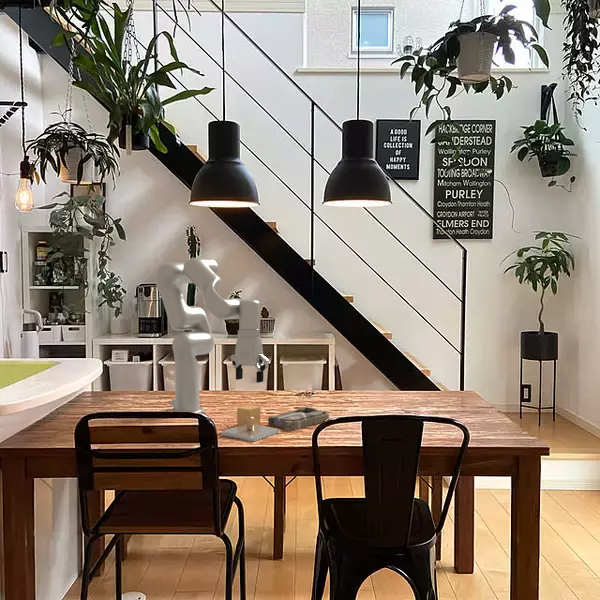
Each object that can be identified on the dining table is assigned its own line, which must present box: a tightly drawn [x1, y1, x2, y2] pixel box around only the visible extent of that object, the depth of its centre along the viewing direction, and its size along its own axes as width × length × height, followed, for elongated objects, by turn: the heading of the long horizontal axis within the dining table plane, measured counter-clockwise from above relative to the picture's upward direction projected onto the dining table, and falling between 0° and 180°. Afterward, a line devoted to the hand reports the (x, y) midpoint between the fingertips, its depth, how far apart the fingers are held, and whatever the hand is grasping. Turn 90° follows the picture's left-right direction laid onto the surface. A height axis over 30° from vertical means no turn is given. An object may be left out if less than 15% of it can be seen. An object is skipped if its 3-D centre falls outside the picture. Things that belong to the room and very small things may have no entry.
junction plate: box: [221, 416, 280, 442], centre depth 229 cm, size 14×14×6 cm
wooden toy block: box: [236, 404, 261, 426], centre depth 242 cm, size 6×6×6 cm
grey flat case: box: [267, 406, 330, 431], centre depth 248 cm, size 4×24×15 cm
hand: (249, 380), depth 242 cm, fingers open, 9 cm apart
